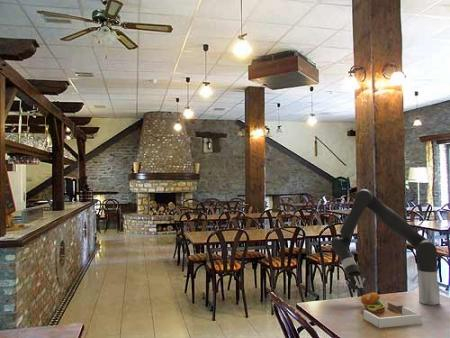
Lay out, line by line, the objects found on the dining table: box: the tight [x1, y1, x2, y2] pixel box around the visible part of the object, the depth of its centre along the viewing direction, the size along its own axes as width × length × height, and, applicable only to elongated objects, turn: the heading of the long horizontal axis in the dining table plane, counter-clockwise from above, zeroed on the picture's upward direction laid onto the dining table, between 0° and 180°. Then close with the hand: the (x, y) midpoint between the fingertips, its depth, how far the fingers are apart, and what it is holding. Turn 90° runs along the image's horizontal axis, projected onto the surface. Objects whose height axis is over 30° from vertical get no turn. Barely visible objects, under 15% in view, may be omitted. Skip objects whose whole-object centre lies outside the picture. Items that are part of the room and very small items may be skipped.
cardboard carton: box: [387, 301, 404, 313], centre depth 198 cm, size 4×7×3 cm, turn 12°
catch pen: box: [363, 306, 423, 329], centre depth 182 cm, size 22×12×4 cm, turn 102°
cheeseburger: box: [360, 292, 386, 314], centre depth 198 cm, size 10×11×10 cm
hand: (363, 295), depth 207 cm, fingers closed
